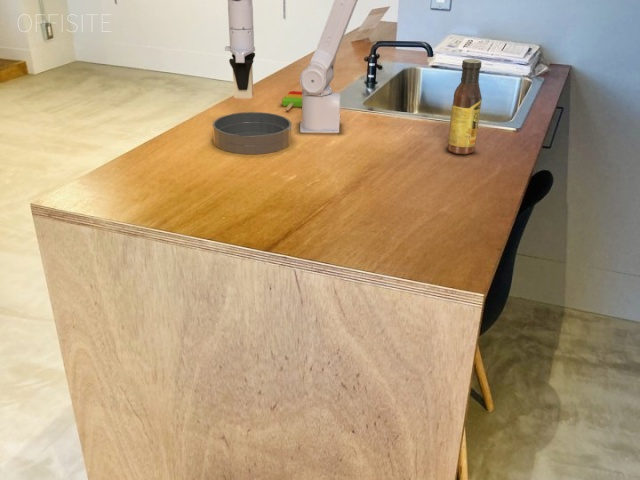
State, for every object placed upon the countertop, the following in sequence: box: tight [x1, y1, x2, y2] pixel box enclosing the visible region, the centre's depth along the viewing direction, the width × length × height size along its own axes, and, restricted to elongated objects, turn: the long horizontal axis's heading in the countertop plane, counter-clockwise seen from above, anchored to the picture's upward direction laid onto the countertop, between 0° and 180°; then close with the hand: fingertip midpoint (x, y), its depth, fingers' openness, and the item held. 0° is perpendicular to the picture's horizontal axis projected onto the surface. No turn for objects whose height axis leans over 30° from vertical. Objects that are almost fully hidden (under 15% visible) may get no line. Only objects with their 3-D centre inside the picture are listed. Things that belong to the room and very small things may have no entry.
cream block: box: [232, 65, 254, 100], centre depth 167 cm, size 4×4×8 cm
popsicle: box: [281, 90, 302, 111], centre depth 185 cm, size 6×15×2 cm, turn 169°
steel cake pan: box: [212, 111, 293, 155], centre depth 158 cm, size 18×18×4 cm
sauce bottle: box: [447, 58, 483, 155], centre depth 152 cm, size 7×6×20 cm
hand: (243, 86), depth 168 cm, fingers closed on cream block, 4 cm apart
